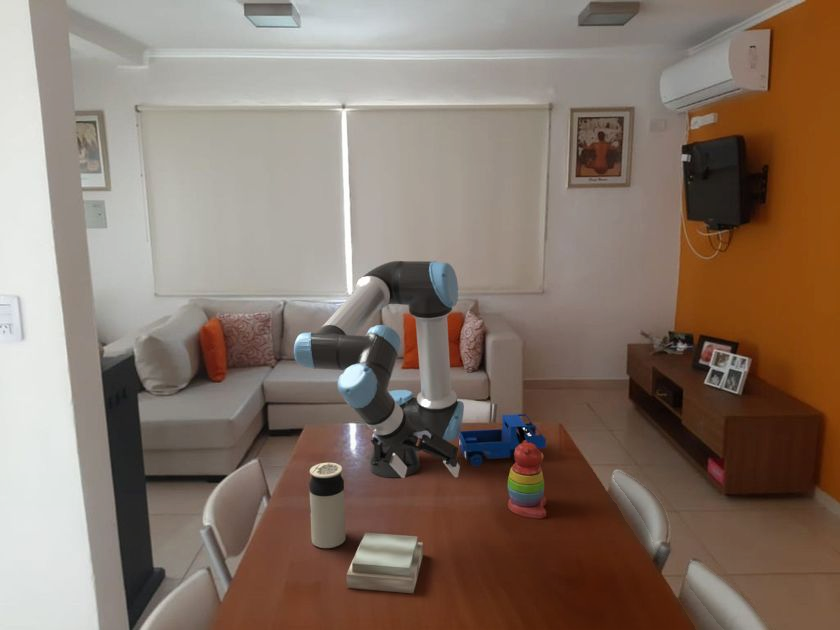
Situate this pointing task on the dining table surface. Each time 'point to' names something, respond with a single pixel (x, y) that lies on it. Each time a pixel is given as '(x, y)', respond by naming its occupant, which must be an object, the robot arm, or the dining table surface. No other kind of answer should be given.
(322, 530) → the travel mug
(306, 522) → the dining table surface
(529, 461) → the stacking bear
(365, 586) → the plinth
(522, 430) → the toy vehicle
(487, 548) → the dining table surface
